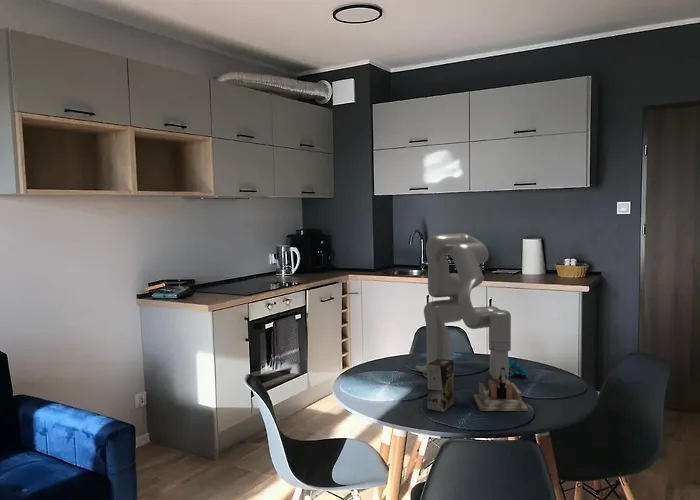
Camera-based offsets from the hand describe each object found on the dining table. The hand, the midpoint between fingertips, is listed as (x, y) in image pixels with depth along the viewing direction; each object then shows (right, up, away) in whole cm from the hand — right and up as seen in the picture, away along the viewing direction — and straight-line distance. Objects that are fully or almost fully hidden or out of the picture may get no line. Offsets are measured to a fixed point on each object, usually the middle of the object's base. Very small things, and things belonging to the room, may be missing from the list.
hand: (499, 395), depth 201 cm
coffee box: (-21, -4, -1) cm, 21 cm away
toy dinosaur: (+16, -1, +33) cm, 37 cm away
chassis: (0, -3, 0) cm, 3 cm away
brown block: (0, -1, 0) cm, 1 cm away
